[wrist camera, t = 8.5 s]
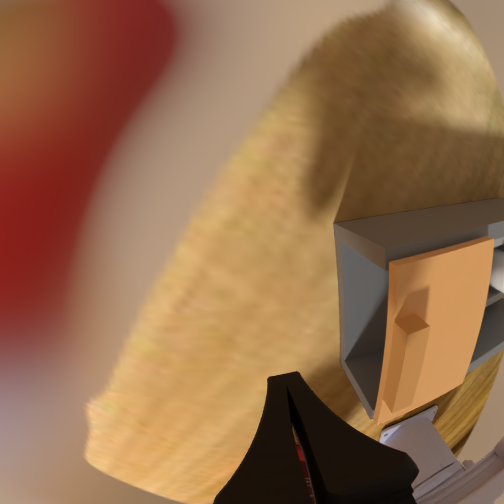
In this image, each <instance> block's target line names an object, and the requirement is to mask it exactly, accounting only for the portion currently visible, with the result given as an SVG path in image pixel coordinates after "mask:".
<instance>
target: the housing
mask: <svg viewBox="0 0 504 504" xmlns="http://www.w3.org/2000/svg"><path fill="white" fill-rule="evenodd" d="M333 225H334V235H335V246H336V259H337V273H338V290H339V315H340V364H341V366H342V368H343V369H344V371H345V373H346V375H347V377H348V379H349V380H350V382H351V384H352V386H353V388H354V390H355V391H356V393H357V395H358V397H359V399H360V401H361V403H362V404H363V406H364V408H365V410H366V412H367V414H368V416H369V418H370V420H371V419H373V417H374V412H375V407H376V402H377V397H378V391H379V385H380V379H381V373H382V365H383V358H384V349H385V339H386V328H387V315H388V295H389V262H390V261H394V260H399V259H403V258H407V257H411V256H415V255H419V254H423V253H427V252H430V251H434V250H438V249H442V248H446V247H449V246H453V245H457V244H460V243H464V242H468V241H471V240H475V239H478V238H482V237H485V236H488V237H491V238H494V248H496V249H499V250H501V251H504V198H496V199H489V200H481V201H474V202H467V203H460V204H453V205H446V206H439V207H433V208H426V209H419V210H413V211H406V212H400V213H394V214H387V215H381V216H375V217H368V218H362V219H356V220H350V221H344V222H338V223H333ZM503 297H504V293H503V292H501V291H499V290H497V289H495V288H494V287H492V286H490V285H489V289H488V295H487V300H486V305H485V310H484V315H483V319H482V323H481V327H480V331H479V335H478V338H477V342H476V345H475V349H474V352H473V355H472V358H471V361H470V364H469V367H468V370H467V373H469V372H470V371H472V370H473V369H475V368H477V367H478V366H480V365H481V364H483V363H484V362H486V361H487V360H488V359H490V358H491V357H493V356H494V355H496V354H497V353H498V352H500V351H501V350H502V349H504V299H503ZM467 373H466V374H467Z"/></svg>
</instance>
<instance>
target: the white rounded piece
mask: <svg viewBox="0 0 504 504" xmlns="http://www.w3.org/2000/svg"><path fill="white" fill-rule="evenodd" d="M489 285H490V286H492V287H494V288H495V289H497V290H499V291H501V292H503V293H504V251H501V250H499V249H496V248H494V249H493V260H492V268H491V276H490V283H489Z"/></svg>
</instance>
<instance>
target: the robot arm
mask: <svg viewBox="0 0 504 504" xmlns="http://www.w3.org/2000/svg"><path fill="white" fill-rule="evenodd" d="M267 383H268V384H267V395H266V401H265V406H264V410H263V414H262V417H261V420H260V423H259V426H258V429H257V432H256V434H255V437H254V439H253V441H252V444H251V446H250V448H249V450H248V452H247V454H246V455H245V457H244V459H243V461H242V462H241V464H240V466H239V467H238V469H237V470H236V471H235V473H234V474H233V476H232V477H231V479H230V480H229V481H228V483H227V484H226V485H225V486H224V487H223V489H222V490H221V491H220V492H219V493H218V494H217V495H216V497H215V499H214V502H213V504H312V500H311V497H310V493H309V490H308V487H307V483H306V480H305V476H304V473H303V469H302V465H301V462H300V458H299V454H298V451H297V447H296V443H295V439H294V435H293V431H292V425H293V428H294V431H295V434H296V437H297V439H298V442H299V445H300V448H301V451H302V453H303V456H304V459H305V462H306V466H307V470H308V474H309V479H310V483H311V487H312V492H313V496H314V501H315V504H494V501H495V500H496V499H497V498H498V497H500V496H501V495H502V494H503V493H504V437H503V438H502V439H501V440H500V441H499V442H498V443H497V445H496V446H495V447H494V449H493V450H492V451H491V452H490V453H489V454H487V455H486V456H485V457H484V458H482V459H481V460H480V461H478V462H477V463H476V464H474V462H473V461H472V460H468V461H467V460H465V461H464V462H463V465H464V467H465V469H466V470H465V469H464V467H463V466H462V464H461V463H460V462H459V461H458V460H457V459H456V457H455V456H454V454H453V453H452V451H451V450H450V448H449V447H448V445H447V444H446V442H445V441H444V439H443V438H442V437H441V435H440V434H439V432H438V431H437V429H436V428H435V427H434V425H433V424H432V421H433V419H434V416H435V414H436V412H437V409H438V406H437V405H435V406H433V407H431V408H429V409H427V410H425V411H423V412H421V413H419V414H417V415H415V416H413V417H411V418H409V419H407V420H404V421H402V422H400V423H397V424H395V425H393V426H390V427H388V428H386V429H384V430H383V431H382V433H381V436H380V439H379V442H378V441H376V440H374V439H372V438H370V437H368V436H366V435H365V434H363V433H361V432H359V431H358V430H356V429H355V428H353V427H352V426H350V425H349V424H347V423H346V422H345V421H343V420H342V419H341V418H340V417H338V416H337V415H336V414H335V413H334V412H332V411H331V410H330V409H329V408H328V407H327V406H326V405H325V404H324V403H323V402H322V401H321V400H320V399H319V398H318V397H317V396H316V395H315V393H314V392H313V391H312V390H311V389H310V387H309V386H308V385H307V384H306V382H305V381H304V379H303V378H302V376H301V375H300V373H299V372H297V371H296V372H291V373H286V374H281V375H276V376H271V377H269V378H268V379H267ZM291 422H292V423H291Z"/></svg>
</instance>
